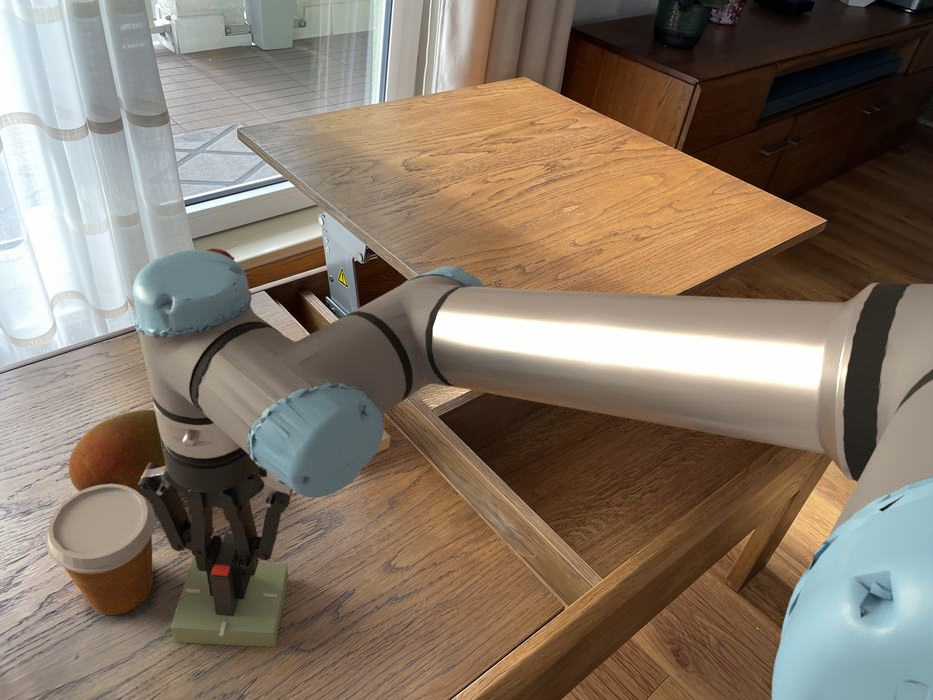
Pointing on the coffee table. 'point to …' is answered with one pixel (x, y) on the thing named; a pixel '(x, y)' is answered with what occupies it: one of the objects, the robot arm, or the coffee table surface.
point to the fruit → (117, 451)
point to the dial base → (252, 614)
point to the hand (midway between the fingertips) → (230, 585)
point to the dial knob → (224, 578)
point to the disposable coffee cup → (105, 545)
